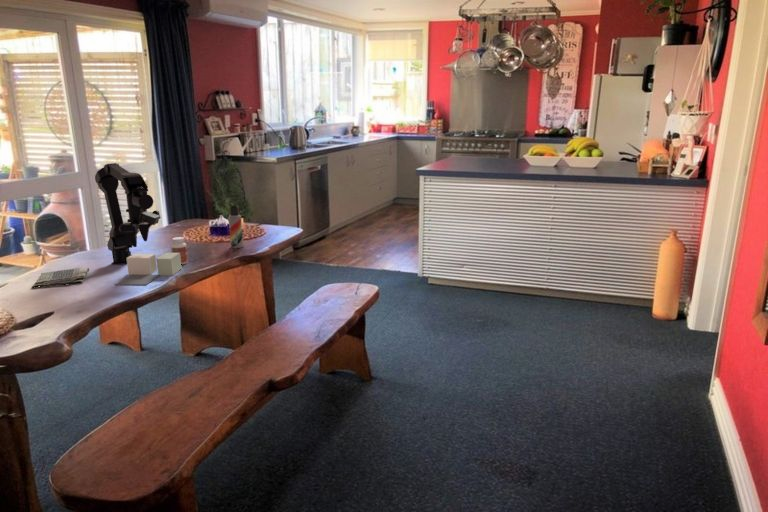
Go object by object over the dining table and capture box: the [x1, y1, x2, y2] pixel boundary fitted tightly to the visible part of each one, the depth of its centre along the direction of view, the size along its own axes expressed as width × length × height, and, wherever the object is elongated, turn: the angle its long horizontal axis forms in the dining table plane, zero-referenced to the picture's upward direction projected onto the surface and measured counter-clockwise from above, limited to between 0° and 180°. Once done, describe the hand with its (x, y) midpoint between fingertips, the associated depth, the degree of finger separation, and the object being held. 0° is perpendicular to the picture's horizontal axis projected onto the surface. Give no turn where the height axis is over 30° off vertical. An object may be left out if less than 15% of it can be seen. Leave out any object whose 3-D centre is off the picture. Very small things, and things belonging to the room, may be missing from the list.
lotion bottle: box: [228, 205, 244, 249], centre depth 265 cm, size 6×6×20 cm
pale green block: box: [156, 252, 183, 277], centre depth 228 cm, size 9×6×7 cm, turn 177°
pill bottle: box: [170, 236, 189, 265], centre depth 240 cm, size 6×6×11 cm
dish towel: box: [31, 267, 90, 289], centre depth 221 cm, size 19×18×3 cm
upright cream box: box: [126, 253, 158, 276], centre depth 228 cm, size 9×6×7 cm, turn 87°
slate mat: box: [115, 274, 161, 286], centre depth 219 cm, size 12×12×1 cm
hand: (140, 244), depth 226 cm, fingers open, 9 cm apart
